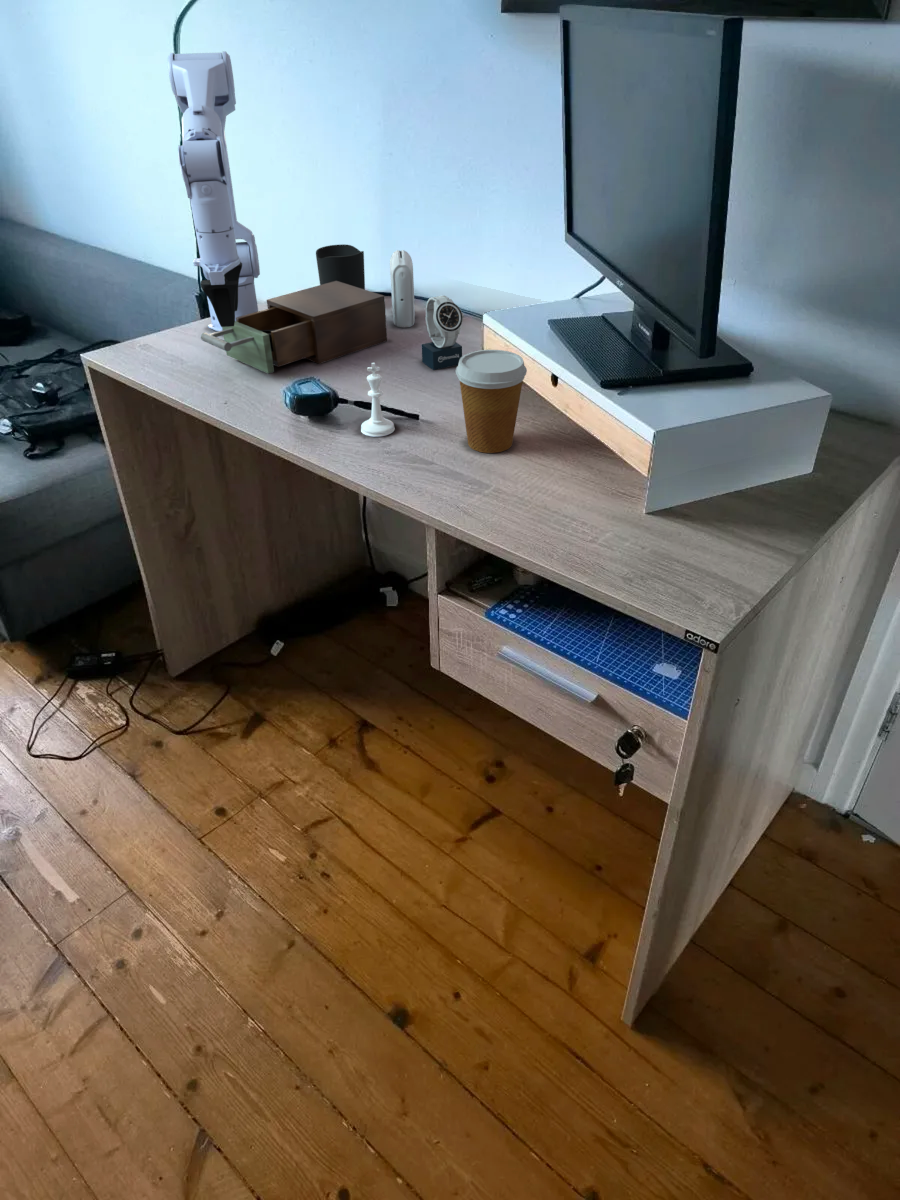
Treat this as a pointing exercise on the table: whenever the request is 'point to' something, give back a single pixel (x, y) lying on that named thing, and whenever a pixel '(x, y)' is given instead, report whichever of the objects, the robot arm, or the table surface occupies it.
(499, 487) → the table surface
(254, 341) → the drawer
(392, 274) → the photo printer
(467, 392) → the disposable coffee cup
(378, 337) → the cabinet
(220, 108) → the robot arm
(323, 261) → the pen holder
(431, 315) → the watch
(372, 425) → the chess piece
